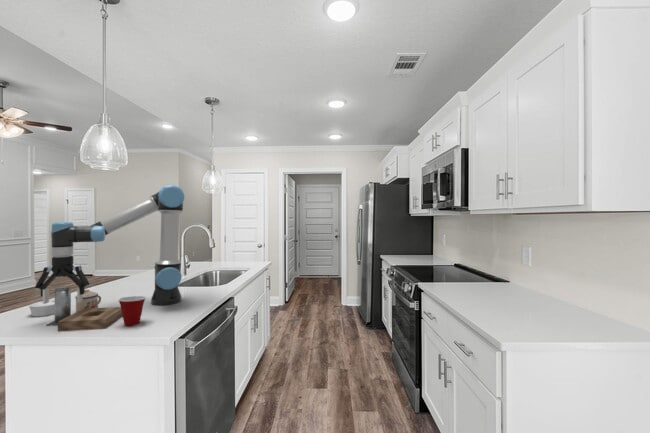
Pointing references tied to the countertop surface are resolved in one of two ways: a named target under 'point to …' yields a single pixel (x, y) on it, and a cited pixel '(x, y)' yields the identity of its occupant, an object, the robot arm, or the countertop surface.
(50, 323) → the pad
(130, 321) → the plastic cup
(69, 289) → the grey metal cylinder
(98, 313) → the frame
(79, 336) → the countertop surface
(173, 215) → the robot arm
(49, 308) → the ramekin
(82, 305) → the teacup with lid
